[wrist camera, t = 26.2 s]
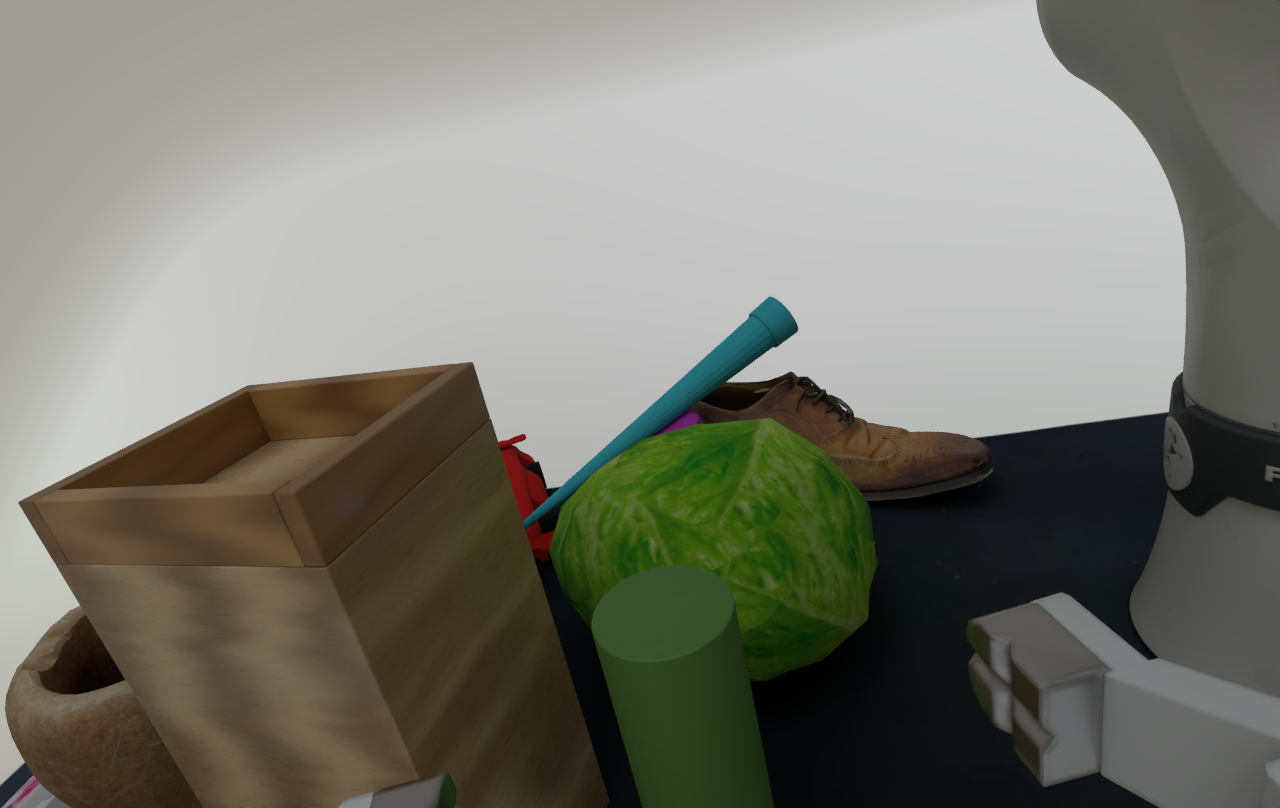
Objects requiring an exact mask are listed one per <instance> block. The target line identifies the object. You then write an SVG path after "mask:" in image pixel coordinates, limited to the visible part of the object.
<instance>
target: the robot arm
mask: <svg viewBox="0 0 1280 808" xmlns="http://www.w3.org/2000/svg"><path fill="white" fill-rule="evenodd" d="M1036 2H1037V10H1038V15H1039V20H1040V24H1041V27H1042V31H1043V33H1044V36H1045V38H1046V40H1047V42H1048V44H1049V46H1050V48H1051V49H1052V51H1053V53H1054V55H1055V56H1056V57H1057V59H1058V60H1059V61H1060V62H1061V63H1062V65H1063V66H1064V67H1065V68H1066V69H1067V70H1068V71H1069V72H1070V73H1072V74H1073V75H1074V76H1076V77H1078V78H1079V79H1082V80H1083V81H1085V82H1087V83H1088V84H1090V85H1091V86H1093V87H1094V88H1096V89H1097V90H1099V91H1100V92H1102V93H1103V94H1104V95H1105V96H1107V97H1108V98H1109V99H1110V100H1111V101H1113V102H1114V103H1115V104H1116V105H1117V106H1118V107H1120V109H1121V110H1122V111H1123V112H1124V113H1125V114H1126V115H1127V116H1128V117H1129V118H1130V119H1131V120H1132V122H1133V123H1134V124H1135V125H1136V127H1137V128H1138V129H1139V131H1140V132H1141V134H1142V135H1143V136H1144V137H1145V139H1146V141H1147V142H1148V144H1149V145H1150V147H1151V149H1152V150H1153V152H1154V153H1155V155H1156V157H1157V158H1158V160H1159V162H1160V164H1161V166H1162V168H1163V170H1164V172H1165V174H1166V176H1167V178H1168V181H1169V184H1170V186H1171V189H1172V191H1173V194H1174V197H1175V199H1176V202H1177V206H1178V210H1179V214H1180V217H1181V221H1182V225H1183V231H1184V239H1185V248H1186V249H1185V250H1186V284H1187V292H1186V336H1185V354H1184V367H1183V372H1182V373H1181V374H1180V375H1179V376H1177V377H1176V379H1175V381H1174V382H1173V386H1172V391H1171V400H1170V408H1169V416H1168V417H1167V419H1166V423H1165V433H1164V449H1163V467H1164V475H1165V480H1166V485H1167V487H1168V494H1167V499H1166V504H1165V508H1164V512H1163V516H1162V520H1161V524H1160V528H1159V531H1158V534H1157V537H1156V540H1155V543H1154V546H1153V549H1152V552H1151V554H1150V557H1149V559H1148V562H1147V564H1146V566H1145V568H1144V570H1143V572H1142V575H1141V577H1140V578H1139V580H1138V582H1137V583H1136V585H1135V587H1134V589H1133V591H1132V593H1131V597H1130V615H1131V619H1132V622H1133V624H1134V627H1135V629H1136V631H1137V632H1138V634H1139V636H1140V637H1141V639H1142V640H1143V642H1144V643H1145V644H1146V646H1147V647H1148V648H1149V649H1150V650H1151V651H1152V652H1153V654H1154V655H1155V656H1156V657H1157V658H1156V659H1152V660H1147V659H1146V658H1145V657H1144V656H1143V655H1141V654H1140V653H1139V652H1138V651H1137V650H1135V649H1134V648H1133V647H1132V646H1130V645H1129V644H1128V643H1127V642H1126V641H1124V640H1123V639H1122V638H1121V637H1120V636H1118V635H1117V634H1116V633H1115V632H1113V631H1112V630H1111V629H1110V628H1109V627H1107V626H1106V625H1105V624H1104V623H1102V622H1101V621H1100V620H1099V619H1098V618H1096V617H1095V616H1094V615H1093V614H1092V613H1090V612H1089V611H1088V610H1087V609H1085V608H1084V607H1083V606H1082V605H1081V604H1079V603H1078V602H1077V601H1076V600H1075V599H1073V598H1072V597H1071V596H1069V595H1067V594H1064V593H1058V594H1054V595H1051V596H1048V597H1044V598H1041V599H1038V600H1034V601H1031V602H1030V603H1025V604H1021V605H1018V606H1015V607H1011V608H1008V609H1005V610H1001V611H998V612H995V613H991V614H988V615H985V616H981V617H978V618H975V619H971V620H969V622H968V625H967V627H966V633H967V642H968V643H969V644H970V645H971V646H972V648H973V649H974V650H975V651H976V652H975V653H974V655H973V657H972V658H971V660H970V662H969V663H968V667H969V677H970V683H971V686H972V688H973V691H974V694H975V697H976V699H977V701H978V703H979V705H980V706H981V708H982V710H983V711H984V713H985V714H986V716H987V717H988V718H989V719H990V721H991V722H992V723H993V725H994V726H996V727H998V728H1000V729H1002V730H1004V731H1007V732H1009V733H1011V734H1013V744H1014V751H1015V752H1016V753H1017V754H1018V756H1019V757H1020V758H1021V759H1022V761H1023V762H1024V763H1025V764H1026V766H1027V767H1028V768H1029V769H1030V770H1031V772H1032V773H1033V774H1034V775H1035V777H1036V778H1037V779H1038V780H1039V781H1040V783H1041V784H1042V785H1043V786H1044V787H1046V786H1050V785H1053V784H1057V783H1061V782H1064V781H1068V780H1072V779H1075V778H1079V777H1083V776H1086V775H1090V774H1094V773H1097V772H1101V775H1102V776H1104V777H1106V778H1108V779H1109V780H1111V781H1113V782H1115V783H1116V784H1118V785H1120V786H1122V787H1124V788H1125V789H1127V790H1129V791H1131V792H1133V793H1134V794H1136V795H1138V796H1140V797H1141V798H1143V799H1145V800H1147V801H1149V802H1150V803H1152V804H1154V805H1156V806H1158V807H1159V808H1280V0H1036ZM456 792H457V789H456V787H455V785H454V782H453V780H452V778H451V776H450V774H449V773H444V772H443V773H440V774H436V775H432V776H428V777H424V778H420V779H417V780H413V781H409V782H405V783H401V784H397V785H394V786H390V787H386V788H382V789H378V791H374V792H370V793H366V794H362V795H358V796H354V797H351V798H347V799H344V800H343V802H342V803H341V804H340V806H339V807H338V808H460V807H458V806H456V805H455V803H456Z"/></svg>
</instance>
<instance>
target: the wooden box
mask: <svg viewBox="0 0 1280 808" xmlns="http://www.w3.org/2000/svg"><path fill="white" fill-rule="evenodd" d="M489 418H490V416H489V413H488V410H487V407H486V404H485V400H484V397H483V394H482V391H481V387H480V384H479V381H478V378H477V374H476V371H475V368H474V365H473V363H471V362H468V363H459V364H448V365H439V366H429V367H420V368H412V369H401V370H392V371H382V372H373V373H363V374H355V375H344V376H336V377H327V378H316V379H307V380H298V381H288V382H278V383H269V384H261V385H260V384H259V385H249V386H246V387H244V388H242V389H240V390H238V391H236V392H234V393H232V394H230V395H228V396H226V397H224V398H222V399H220V400H218V401H216V402H214V403H212V404H210V405H209V406H206V407H205V408H203V409H201V410H199V411H197V412H195V413H193V414H191V415H189V416H187V417H185V418H183V419H181V420H179V421H177V422H175V423H173V424H171V425H169V426H167V427H165V428H163V429H162V430H159V431H157V432H155V433H153V434H151V435H150V436H148V437H146V438H144V439H141V440H140V441H138V442H136V443H134V444H132V445H130V446H128V447H126V448H124V449H122V450H120V451H118V452H116V453H114V454H112V455H110V456H108V457H106V458H104V459H102V460H100V461H98V462H96V463H94V464H92V465H90V466H88V467H86V468H84V469H82V470H81V471H79V472H77V473H75V474H73V475H71V476H69V477H67V478H65V479H63V480H61V481H59V482H57V483H55V484H53V485H51V486H49V487H47V488H45V489H43V490H41V491H39V492H37V493H35V494H33V495H32V496H29V497H27V498H25V499H23V500H22V501H20V502H19V505H20V507H21V508H22V510H23V511H24V513H25V515H26V516H27V518H28V520H29V521H30V523H31V525H32V526H33V528H34V529H35V531H36V533H37V535H38V536H39V538H40V539H41V541H42V543H43V544H44V546H45V548H46V549H47V551H48V553H49V554H50V556H51V558H52V559H53V561H54V562H55V564H56V566H57V568H58V569H59V571H60V572H61V574H62V576H63V578H64V579H65V581H66V582H67V584H68V586H69V587H70V589H71V591H72V592H73V594H74V596H75V597H76V599H77V601H78V602H79V604H80V606H81V607H82V609H83V611H84V612H85V614H86V616H87V617H88V619H89V620H90V622H91V624H92V625H93V627H94V629H95V630H96V632H97V634H98V635H99V637H100V639H101V640H102V642H103V644H104V645H105V647H106V648H107V650H108V652H109V653H110V655H111V657H112V658H113V660H114V662H115V663H116V665H117V667H118V668H119V670H120V672H121V673H122V675H123V677H124V678H125V680H126V681H127V683H128V685H129V686H130V688H131V690H132V691H133V693H134V695H135V696H136V698H137V700H138V701H139V703H140V705H141V706H142V708H143V710H144V711H145V713H146V714H147V716H148V718H149V719H150V721H151V723H152V724H153V726H154V728H155V729H156V731H157V733H158V734H159V736H160V738H161V739H162V741H163V743H164V744H165V746H166V747H167V749H168V751H169V752H170V754H171V756H172V757H173V759H174V761H175V762H176V764H177V766H178V767H179V769H180V771H181V772H182V774H183V775H184V777H185V779H186V780H187V782H188V784H189V785H190V787H191V789H192V790H193V792H194V794H195V795H196V797H197V799H198V800H199V802H200V804H201V805H202V807H203V808H338V807H339V806H340V804H341V803H342V802H343V800H344V799H347V798H351V797H354V796H358V795H362V794H366V793H370V792H374V791H378V789H382V788H386V787H390V786H394V785H397V784H401V783H405V782H409V781H413V780H417V779H420V778H424V777H428V776H432V775H436V774H440V773H443V772H444V773H449V774H450V776H451V778H452V780H453V782H454V785H455V787H456V789H457V792H456V803H455V805H456V806H458V807H460V808H607V806H608V804H609V797H608V794H607V791H606V788H605V784H604V781H603V778H602V775H601V772H600V768H599V765H598V762H597V759H596V756H595V752H594V749H593V746H592V743H591V739H590V736H589V733H588V730H587V727H586V723H585V720H584V717H583V714H582V711H581V707H580V704H579V701H578V698H577V694H576V691H575V688H574V685H573V682H572V678H571V675H570V672H569V669H568V665H567V662H566V659H565V656H564V653H563V649H562V646H561V643H560V640H559V637H558V633H557V630H556V627H555V624H554V620H553V617H552V614H551V611H550V608H549V604H548V601H547V598H546V595H545V591H544V588H543V585H542V582H541V579H540V575H539V572H538V569H537V566H536V563H535V559H534V556H533V553H532V550H531V546H530V543H529V540H528V537H527V534H526V530H525V527H524V524H523V521H522V518H521V514H520V511H519V508H518V505H517V501H516V498H515V495H514V492H513V489H512V485H511V482H510V479H509V476H508V472H507V469H506V466H505V463H504V460H503V456H502V453H501V450H500V447H499V444H498V440H497V437H496V434H495V431H494V427H493V424H492V421H491V419H489Z"/></svg>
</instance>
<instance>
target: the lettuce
mask: <svg viewBox="0 0 1280 808" xmlns="http://www.w3.org/2000/svg"><path fill="white" fill-rule="evenodd" d="M549 553H550V556H551V559H552V562H553V565H554V568H555V571H556V574H557V577H558V580H559V583H560V586H561V589H562V592H563V595H564V597H565V598H566V599H567V600H568V601H570V603H571V604H572V605H573V607H574V608H575V609H576V611H577V612H578V613H579V615H580V616H581V617H582V618H583V620H584V621H585V622H586V624H587V625H588V626H589V628H590V629H591V623H592V617H593V613H594V611H595V608H596V606H597V605H598V603H599V602H600V600H601V599H602V598H603V597H604V595H605V594H606V593H607V592H608V591H609V590H611V589H612V588H613V587H614V586H616V585H617V584H619V583H620V582H622V581H623V580H625V579H627V578H629V577H631V576H633V575H635V574H638V573H640V572H643V571H646V570H650V569H654V568H659V567H665V566H691V567H697V568H701V569H705V570H707V571H710V572H712V573H714V574H716V575H717V576H719V577H720V578H721V579H723V580H724V581H725V582H726V584H727V585H728V586H729V588H730V589H731V591H732V593H733V597H734V601H735V607H736V612H737V617H738V622H739V627H740V632H741V638H742V643H743V648H744V653H745V658H746V663H747V669H748V674H749V679H750V682H753V681H768V680H770V679H772V678H774V677H777V676H779V675H781V674H783V673H785V672H788V671H791V670H794V669H797V668H800V667H804V666H807V665H810V664H813V663H817V662H820V661H822V660H823V659H825V658H826V657H827V656H828V655H829V654H830V653H831V652H832V651H833V650H834V649H836V648H837V647H838V646H839V645H840V644H841V643H842V642H843V641H844V640H845V639H847V638H848V637H849V636H850V635H851V634H852V633H853V632H854V631H855V630H857V629H858V628H859V627H860V626H861V625H862V624H863V623H864V622H865V621H866V620H868V611H869V589H870V586H871V583H872V579H873V576H874V573H875V570H876V567H877V557H876V550H875V543H874V536H873V529H872V522H871V516H870V509H869V503H868V502H867V501H866V500H865V499H864V498H863V496H862V494H861V493H860V491H859V490H858V489H857V488H856V487H855V486H854V484H853V483H852V482H851V481H850V480H849V479H848V478H847V476H846V475H845V474H844V473H843V472H842V471H841V469H840V468H839V467H838V466H837V465H836V464H835V462H834V461H833V460H832V459H831V458H830V457H829V455H828V454H827V453H826V452H825V451H824V450H822V449H821V448H819V447H817V446H816V445H814V444H812V443H811V442H809V441H807V440H806V439H804V438H802V437H801V436H799V435H797V434H796V433H794V432H792V431H791V430H789V429H787V428H786V427H784V426H782V425H781V424H779V423H777V422H776V421H774V420H772V419H771V418H765V419H755V420H744V421H734V422H724V423H713V424H696V425H692V426H688V427H685V428H681V429H678V430H674V431H670V432H667V433H663V434H660V435H656V436H653V437H649V438H645V439H642V440H639V441H638V442H636V443H635V444H634V445H632V446H631V447H630V448H628V449H627V450H626V451H624V452H623V453H621V454H620V455H619V456H617V457H616V458H614V459H613V460H611V461H610V462H608V463H607V464H606V465H604V466H603V467H601V468H600V469H598V470H597V471H595V472H594V473H593V474H592V475H591V476H590V477H589V478H588V479H587V480H586V481H585V483H584V484H583V485H582V486H581V487H580V488H579V489H578V490H577V491H576V492H575V493H574V494H573V495H572V496H571V497H570V498H569V499H568V500H567V501H566V502H565V504H564V505H563V506H562V507H561V510H560V514H559V518H558V521H557V525H556V528H555V532H554V536H553V539H552V543H551V547H550V550H549ZM591 630H592V629H591Z"/></svg>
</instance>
